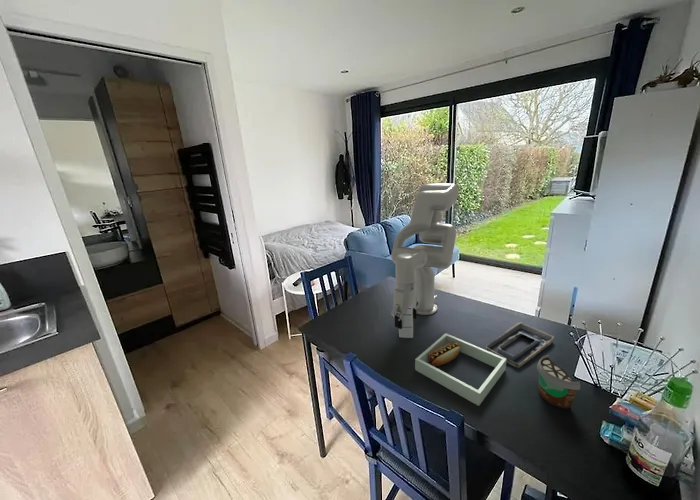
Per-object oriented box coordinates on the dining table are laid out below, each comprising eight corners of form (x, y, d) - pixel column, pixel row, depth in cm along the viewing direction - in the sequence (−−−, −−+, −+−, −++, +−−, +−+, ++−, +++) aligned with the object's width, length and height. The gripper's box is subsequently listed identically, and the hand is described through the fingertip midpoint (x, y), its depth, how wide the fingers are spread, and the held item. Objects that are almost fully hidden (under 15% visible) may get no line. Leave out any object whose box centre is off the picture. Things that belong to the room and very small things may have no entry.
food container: (524, 382, 91) (528, 356, 88) (542, 380, 91) (547, 353, 88) (553, 415, 79) (559, 386, 76) (575, 412, 79) (581, 383, 76)
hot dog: (463, 357, 104) (464, 345, 102) (436, 372, 98) (437, 360, 96) (452, 350, 108) (452, 338, 106) (426, 364, 102) (426, 352, 100)
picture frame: (554, 343, 108) (555, 336, 107) (519, 372, 96) (520, 364, 95) (518, 327, 119) (519, 321, 118) (482, 351, 106) (483, 345, 105)
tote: (445, 343, 112) (445, 333, 110) (505, 370, 96) (506, 358, 95) (415, 369, 99) (415, 359, 98) (478, 406, 84) (479, 393, 82)
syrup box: (413, 338, 116) (413, 306, 112) (398, 337, 117) (397, 306, 113) (413, 330, 121) (413, 299, 117) (398, 329, 123) (398, 299, 118)
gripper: (410, 275, 121) (410, 311, 126) (383, 289, 110) (385, 328, 115) (426, 279, 115) (425, 317, 120) (399, 295, 104) (400, 335, 110)
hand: (405, 322), depth 118 cm, fingers open, 9 cm apart
